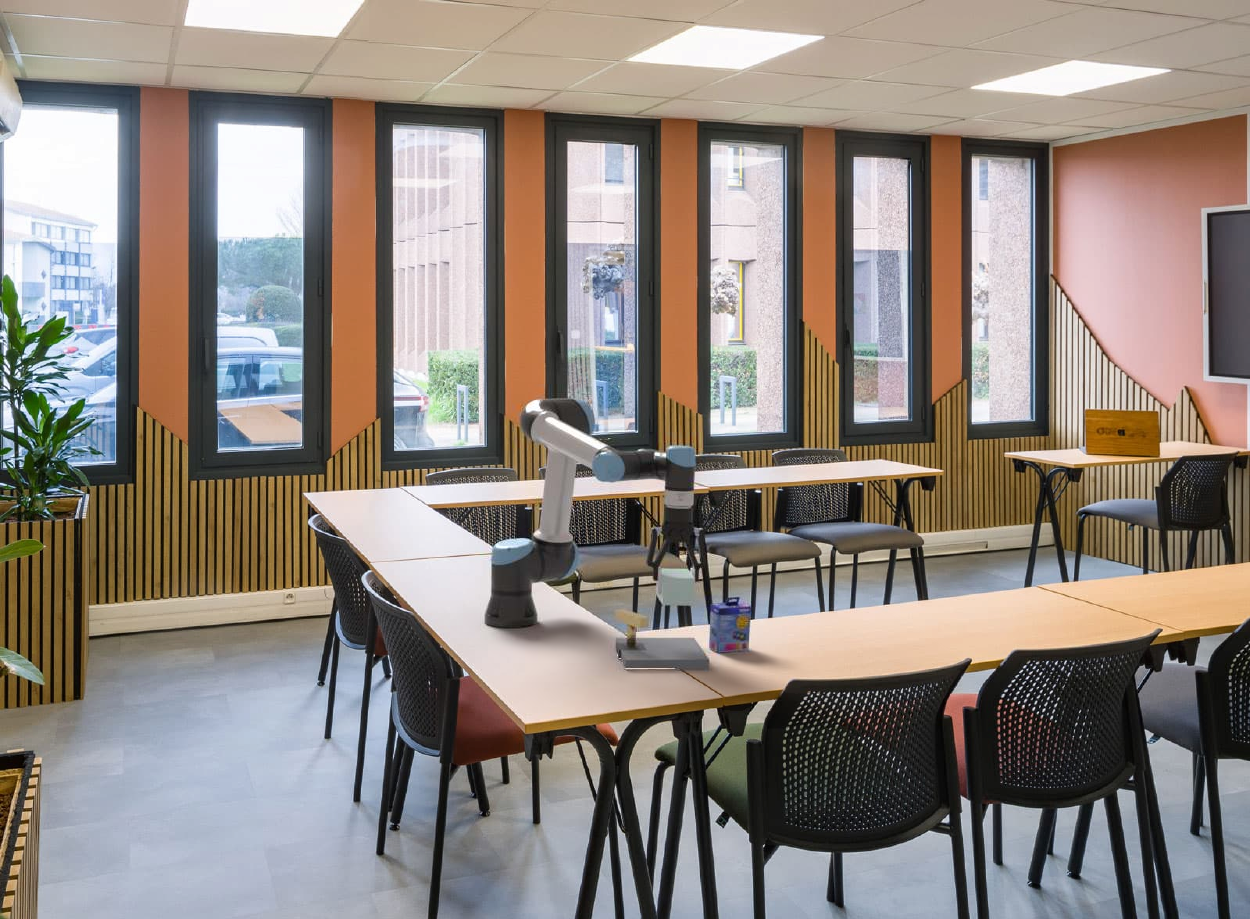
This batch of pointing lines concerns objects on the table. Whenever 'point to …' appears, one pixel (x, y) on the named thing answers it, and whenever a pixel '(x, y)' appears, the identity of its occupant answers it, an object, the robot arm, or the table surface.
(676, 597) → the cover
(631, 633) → the wooden t-shaped block
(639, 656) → the panel
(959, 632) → the table surface
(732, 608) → the ink cartridge box
